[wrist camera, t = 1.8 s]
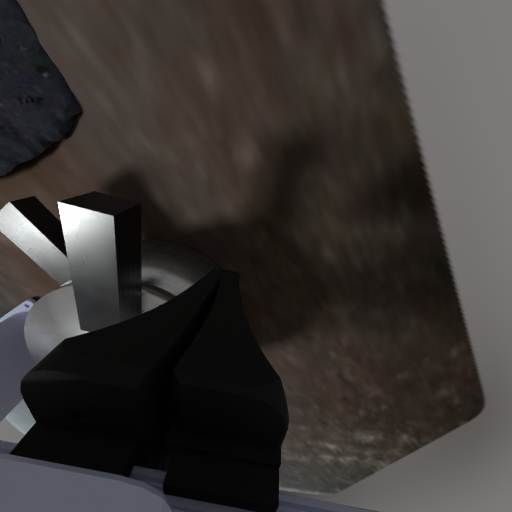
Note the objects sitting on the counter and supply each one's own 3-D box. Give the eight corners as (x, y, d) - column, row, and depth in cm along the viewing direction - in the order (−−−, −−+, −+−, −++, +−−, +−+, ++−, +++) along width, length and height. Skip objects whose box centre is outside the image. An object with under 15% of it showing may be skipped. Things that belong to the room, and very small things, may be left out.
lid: (214, 426, 21) (204, 470, 18) (58, 389, 21) (23, 429, 18) (270, 227, 12) (267, 254, 9) (-10, 155, 12) (-104, 161, 9)
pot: (265, 326, 23) (261, 382, 18) (166, 365, 28) (139, 419, 22) (126, 143, 17) (54, 146, 11) (23, 233, 21) (-63, 265, 16)
